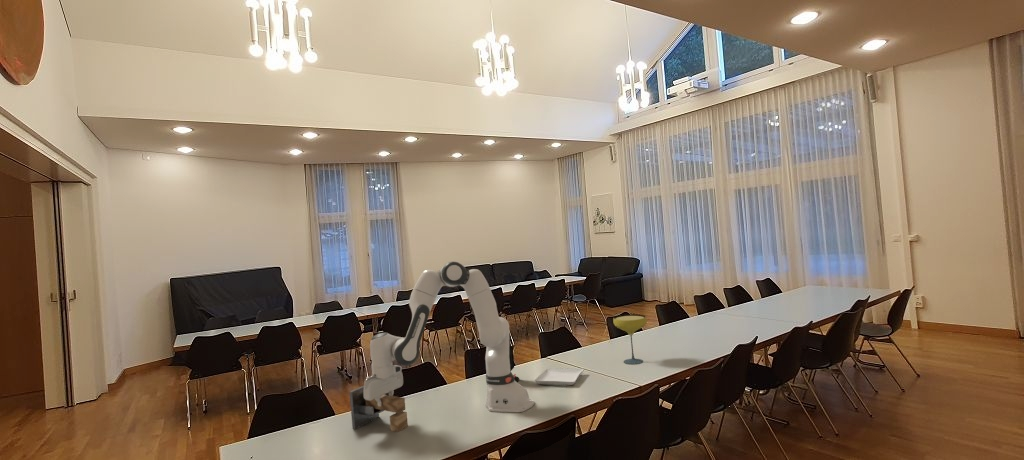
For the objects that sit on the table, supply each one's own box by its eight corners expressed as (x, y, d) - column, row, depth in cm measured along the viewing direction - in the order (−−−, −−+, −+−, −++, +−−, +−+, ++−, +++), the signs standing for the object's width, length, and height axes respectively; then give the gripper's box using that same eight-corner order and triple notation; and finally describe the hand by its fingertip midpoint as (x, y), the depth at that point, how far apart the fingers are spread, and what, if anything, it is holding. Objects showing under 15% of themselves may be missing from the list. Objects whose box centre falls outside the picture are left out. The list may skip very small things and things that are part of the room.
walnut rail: (405, 409, 202) (404, 397, 203) (398, 413, 199) (397, 401, 199) (373, 403, 213) (372, 392, 213) (366, 406, 210) (365, 395, 210)
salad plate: (534, 386, 242) (533, 380, 242) (546, 374, 262) (546, 367, 262) (575, 388, 234) (574, 381, 234) (585, 375, 254) (584, 368, 254)
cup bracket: (392, 418, 214) (389, 383, 214) (368, 431, 202) (365, 393, 202) (376, 416, 219) (373, 381, 219) (352, 428, 207) (349, 391, 207)
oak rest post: (407, 426, 204) (406, 411, 204) (397, 431, 199) (396, 417, 199) (400, 424, 206) (399, 410, 206) (390, 430, 201) (389, 416, 201)
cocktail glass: (654, 364, 260) (649, 318, 260) (620, 367, 260) (616, 321, 261) (645, 356, 278) (641, 313, 278) (614, 358, 278) (610, 315, 279)
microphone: (500, 387, 245) (496, 338, 245) (489, 381, 257) (485, 334, 257) (523, 381, 251) (519, 333, 251) (512, 375, 263) (508, 330, 263)
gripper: (369, 379, 196) (372, 413, 196) (404, 365, 213) (406, 396, 213) (358, 378, 199) (361, 411, 199) (393, 364, 217) (396, 395, 216)
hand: (385, 403), depth 206 cm, fingers closed on walnut rail, 4 cm apart
